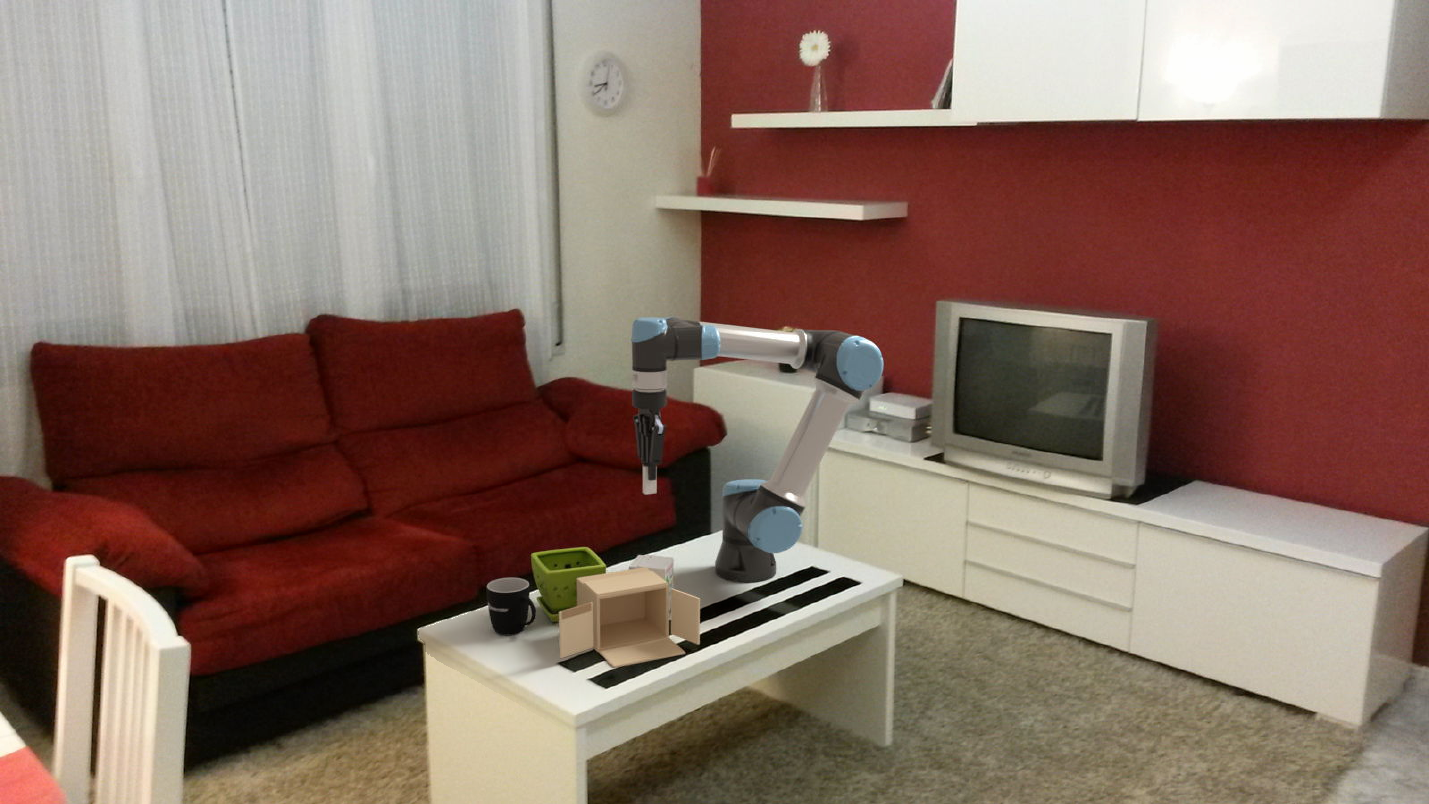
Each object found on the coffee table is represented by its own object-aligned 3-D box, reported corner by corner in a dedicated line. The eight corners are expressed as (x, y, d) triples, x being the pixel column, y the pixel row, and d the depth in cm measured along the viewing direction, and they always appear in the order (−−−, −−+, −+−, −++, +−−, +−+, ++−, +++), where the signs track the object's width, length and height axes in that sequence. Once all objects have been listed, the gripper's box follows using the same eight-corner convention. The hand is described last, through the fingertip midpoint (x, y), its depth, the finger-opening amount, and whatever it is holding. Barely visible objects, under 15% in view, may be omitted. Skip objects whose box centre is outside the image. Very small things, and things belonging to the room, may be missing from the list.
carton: (660, 616, 250) (660, 562, 248) (700, 650, 232) (701, 593, 230) (577, 631, 241) (576, 576, 239) (612, 668, 224) (612, 609, 221)
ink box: (665, 619, 248) (665, 569, 246) (627, 616, 250) (627, 566, 248) (674, 605, 257) (674, 556, 254) (638, 602, 258) (637, 553, 256)
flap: (561, 658, 225) (560, 612, 223) (559, 657, 225) (558, 611, 223) (593, 647, 230) (592, 602, 228) (592, 646, 230) (591, 602, 228)
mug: (479, 631, 241) (477, 586, 239) (508, 618, 248) (507, 574, 246) (521, 644, 234) (519, 598, 232) (549, 630, 242) (548, 585, 240)
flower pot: (546, 628, 243) (545, 572, 240) (530, 606, 255) (528, 552, 253) (608, 619, 248) (608, 564, 246) (589, 597, 261) (589, 544, 258)
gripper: (622, 385, 251) (622, 487, 255) (645, 395, 239) (645, 502, 244) (653, 382, 254) (653, 484, 259) (677, 392, 242) (677, 498, 247)
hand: (649, 493), depth 251 cm, fingers closed
